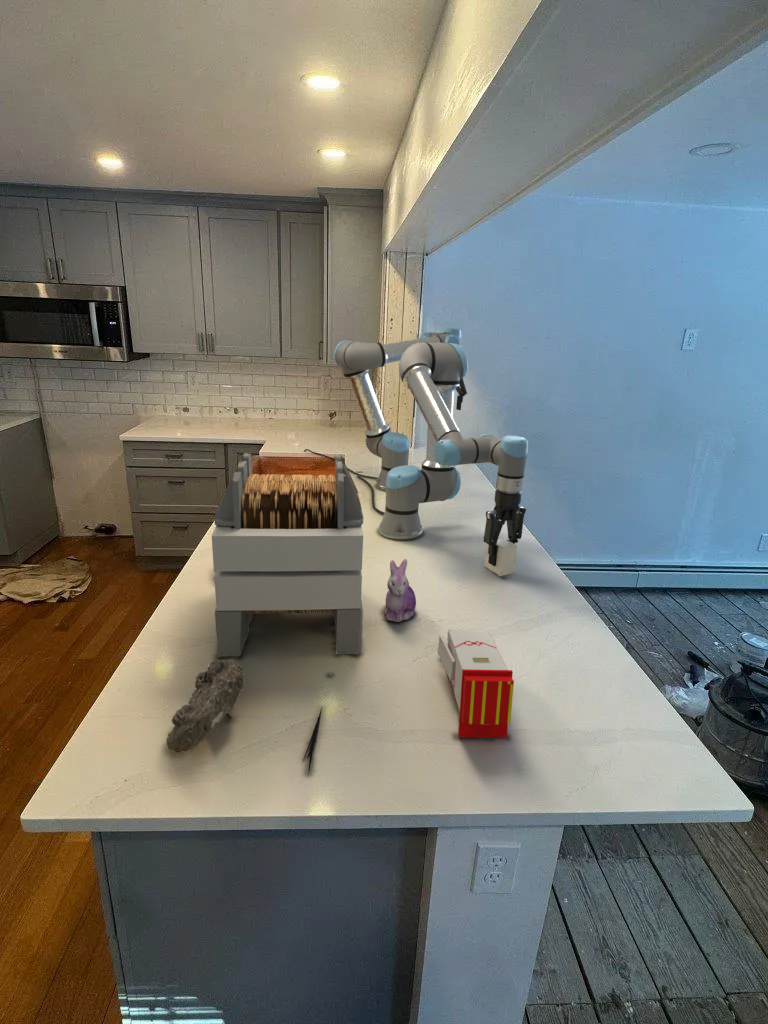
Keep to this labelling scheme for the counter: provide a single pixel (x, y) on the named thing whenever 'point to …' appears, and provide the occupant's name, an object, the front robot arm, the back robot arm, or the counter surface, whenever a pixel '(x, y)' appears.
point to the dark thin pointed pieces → (313, 740)
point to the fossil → (206, 705)
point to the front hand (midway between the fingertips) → (499, 562)
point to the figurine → (399, 594)
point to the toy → (478, 682)
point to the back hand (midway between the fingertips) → (446, 410)
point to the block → (503, 557)
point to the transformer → (288, 552)
